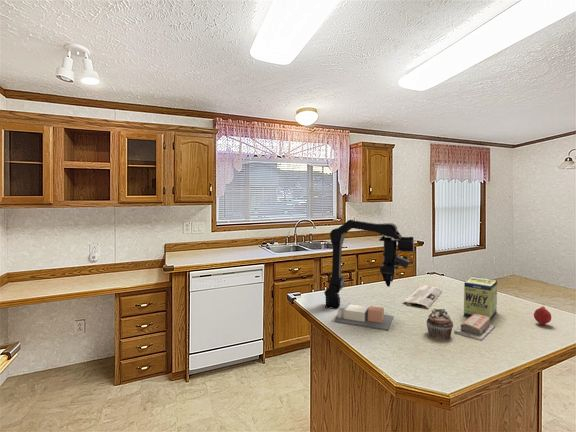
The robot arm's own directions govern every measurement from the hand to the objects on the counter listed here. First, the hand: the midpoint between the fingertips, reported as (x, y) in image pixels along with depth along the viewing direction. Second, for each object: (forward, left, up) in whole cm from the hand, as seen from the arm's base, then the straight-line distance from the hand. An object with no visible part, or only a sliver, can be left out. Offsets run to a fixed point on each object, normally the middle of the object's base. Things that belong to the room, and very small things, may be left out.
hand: (389, 284), depth 147 cm
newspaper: (+13, +33, -15) cm, 38 cm away
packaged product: (+34, -4, -15) cm, 37 cm away
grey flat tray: (-9, -11, -14) cm, 20 cm away
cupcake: (+21, -15, -15) cm, 30 cm away
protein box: (+38, +17, -15) cm, 44 cm away
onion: (+60, +13, -15) cm, 63 cm away
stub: (-4, -11, -14) cm, 18 cm away
